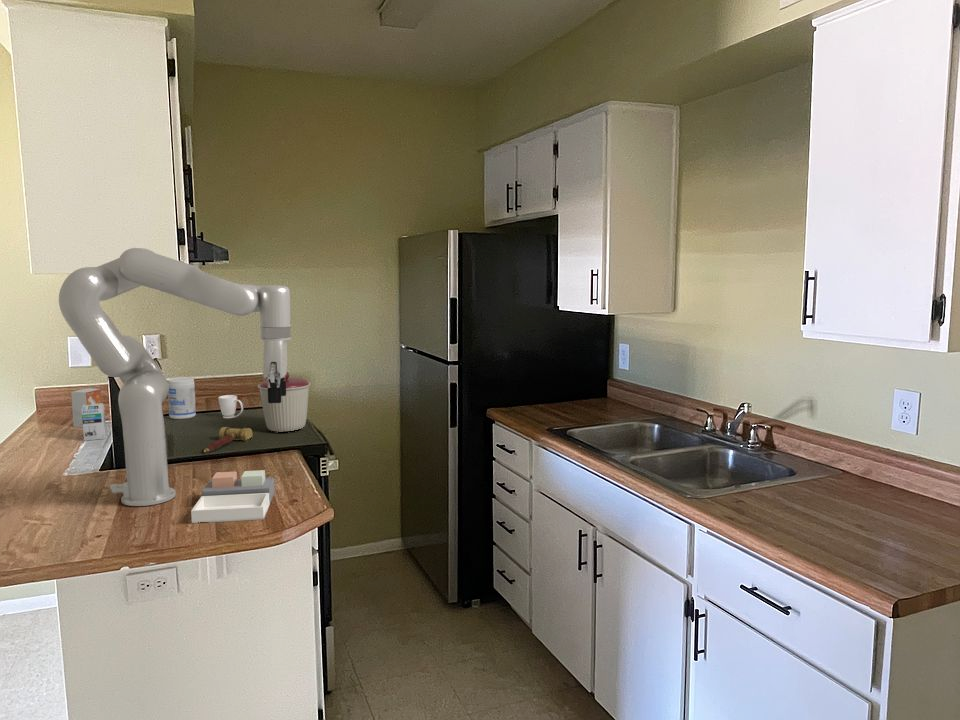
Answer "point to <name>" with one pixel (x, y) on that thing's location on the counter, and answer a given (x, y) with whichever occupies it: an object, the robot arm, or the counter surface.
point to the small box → (83, 402)
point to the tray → (230, 508)
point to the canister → (286, 405)
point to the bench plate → (241, 489)
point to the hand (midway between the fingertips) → (277, 399)
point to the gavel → (230, 436)
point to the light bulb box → (93, 421)
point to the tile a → (224, 479)
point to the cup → (229, 405)
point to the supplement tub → (181, 398)
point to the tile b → (253, 478)
